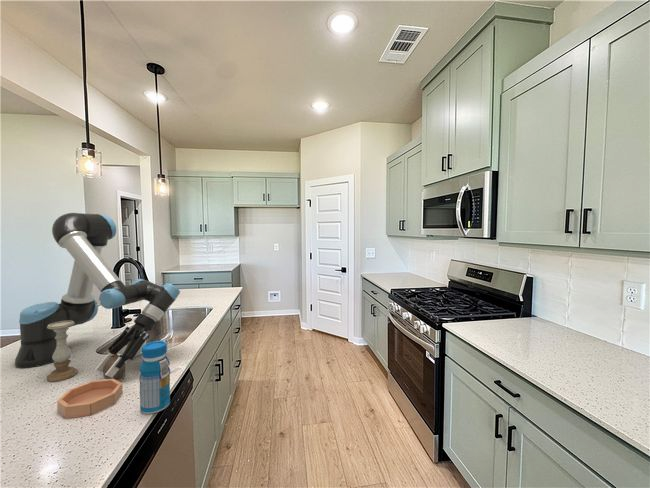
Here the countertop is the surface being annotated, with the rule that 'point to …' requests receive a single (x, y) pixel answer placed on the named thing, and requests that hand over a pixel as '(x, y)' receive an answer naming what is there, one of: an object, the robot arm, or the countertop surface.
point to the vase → (108, 366)
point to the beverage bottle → (154, 378)
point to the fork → (180, 365)
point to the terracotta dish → (89, 398)
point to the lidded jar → (136, 353)
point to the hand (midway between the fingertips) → (103, 373)
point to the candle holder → (61, 353)
